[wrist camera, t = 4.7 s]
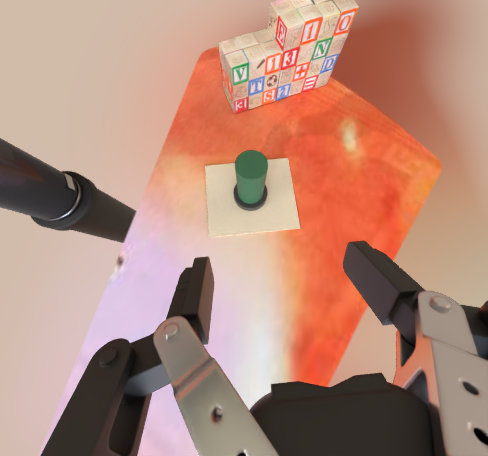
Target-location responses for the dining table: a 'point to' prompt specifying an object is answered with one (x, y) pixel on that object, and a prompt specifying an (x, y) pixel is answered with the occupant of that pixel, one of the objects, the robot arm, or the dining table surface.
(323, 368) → the dining table surface
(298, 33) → the stack of blocks
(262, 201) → the green cylinder with base
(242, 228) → the napkin
